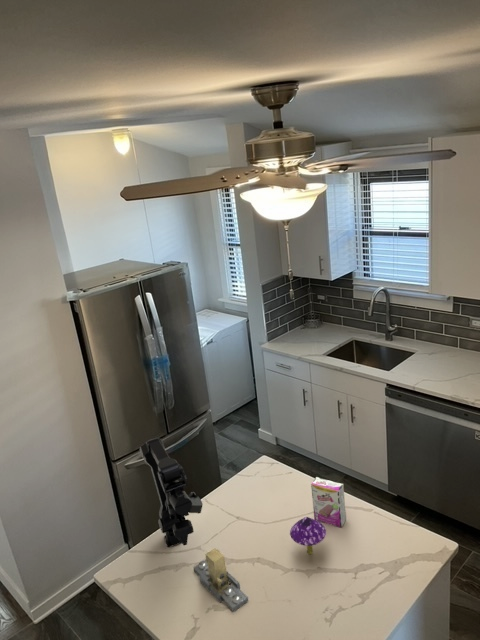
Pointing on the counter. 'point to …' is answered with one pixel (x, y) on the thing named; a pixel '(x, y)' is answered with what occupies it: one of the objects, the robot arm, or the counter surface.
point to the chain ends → (229, 595)
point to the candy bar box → (328, 502)
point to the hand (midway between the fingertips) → (182, 536)
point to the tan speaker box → (217, 569)
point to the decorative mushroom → (308, 533)
